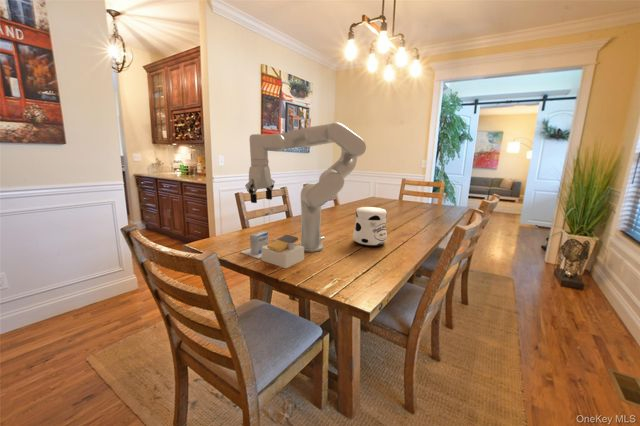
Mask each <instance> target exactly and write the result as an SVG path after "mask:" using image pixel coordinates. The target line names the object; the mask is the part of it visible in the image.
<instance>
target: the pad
mask: <svg viewBox="0 0 640 426" xmlns="http://www.w3.org/2000/svg"><path fill="white" fill-rule="evenodd" d="M240 253H241V254H243V255H246V256H248V255H249V256H250V257H252V258H254V259H257V260H260V259H262V253H260V254H255V253H251V247H250V248H248V249H245V250H242V251H240Z"/></svg>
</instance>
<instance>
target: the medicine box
mask: <svg viewBox="0 0 640 426" xmlns="http://www.w3.org/2000/svg"><path fill="white" fill-rule="evenodd" d="M249 241H250V242H249V243H250V248H251V253H255V254H260V253H262V247H263V246H266V245H269V232H268V231H263V230H261V231H258V232H255V233H253V234H250V235H249Z"/></svg>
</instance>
